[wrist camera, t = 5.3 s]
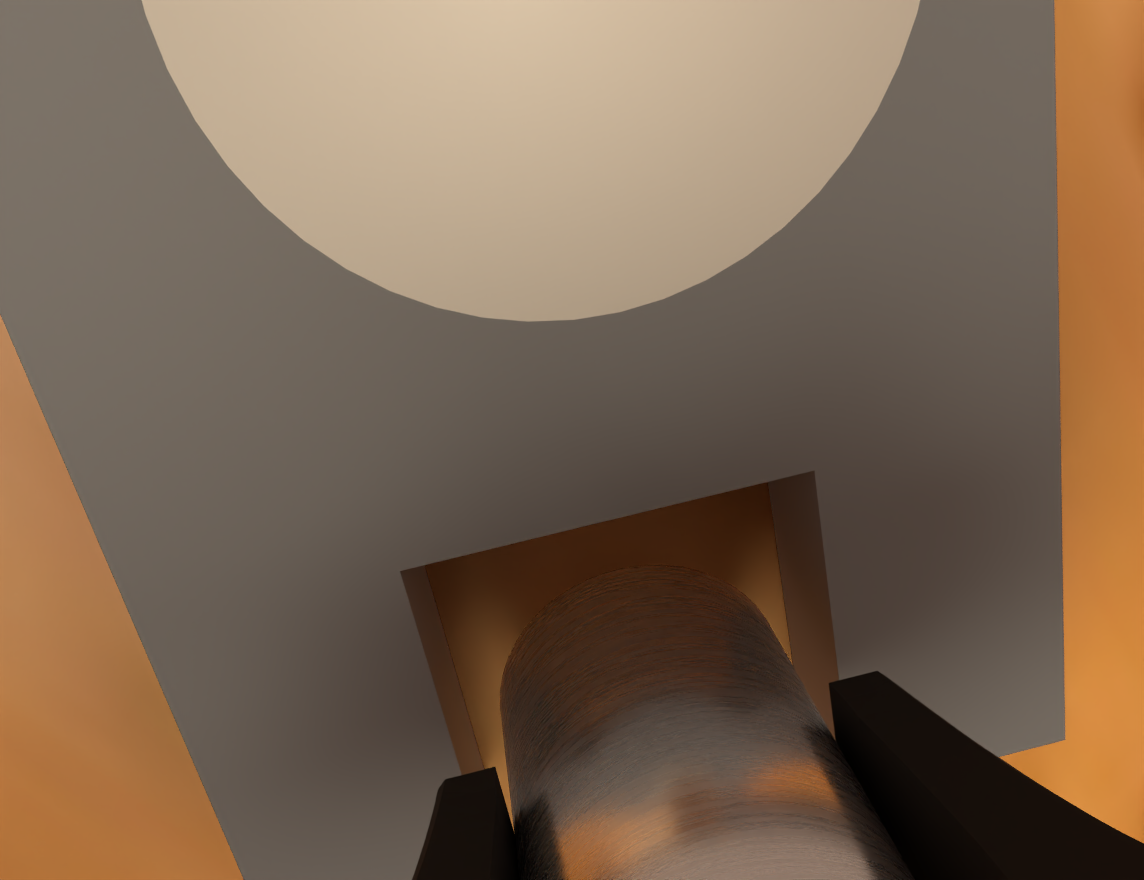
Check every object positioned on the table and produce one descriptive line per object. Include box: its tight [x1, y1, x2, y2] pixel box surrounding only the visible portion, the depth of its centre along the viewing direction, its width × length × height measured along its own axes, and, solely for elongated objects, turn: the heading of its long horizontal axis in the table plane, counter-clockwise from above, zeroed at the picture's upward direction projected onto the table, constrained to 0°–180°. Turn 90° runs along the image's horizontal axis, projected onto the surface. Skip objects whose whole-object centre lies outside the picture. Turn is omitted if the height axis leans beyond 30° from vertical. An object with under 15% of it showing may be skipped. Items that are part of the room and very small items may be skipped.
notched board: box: [0, 0, 1065, 880], centre depth 11 cm, size 16×12×8 cm
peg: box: [500, 565, 915, 880], centre depth 12 cm, size 4×4×7 cm
